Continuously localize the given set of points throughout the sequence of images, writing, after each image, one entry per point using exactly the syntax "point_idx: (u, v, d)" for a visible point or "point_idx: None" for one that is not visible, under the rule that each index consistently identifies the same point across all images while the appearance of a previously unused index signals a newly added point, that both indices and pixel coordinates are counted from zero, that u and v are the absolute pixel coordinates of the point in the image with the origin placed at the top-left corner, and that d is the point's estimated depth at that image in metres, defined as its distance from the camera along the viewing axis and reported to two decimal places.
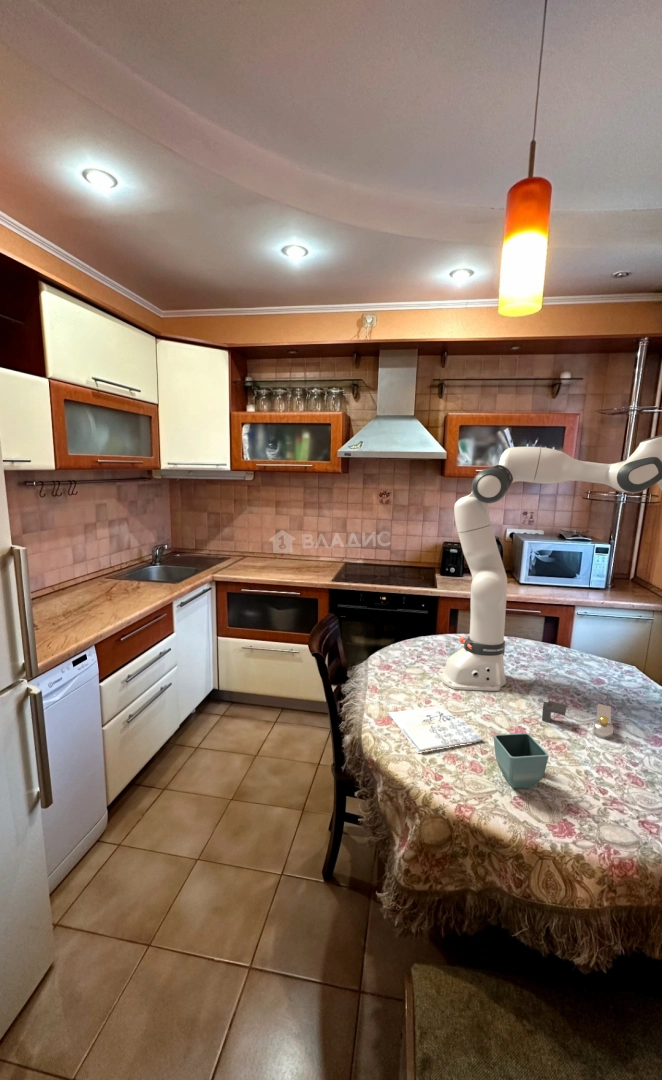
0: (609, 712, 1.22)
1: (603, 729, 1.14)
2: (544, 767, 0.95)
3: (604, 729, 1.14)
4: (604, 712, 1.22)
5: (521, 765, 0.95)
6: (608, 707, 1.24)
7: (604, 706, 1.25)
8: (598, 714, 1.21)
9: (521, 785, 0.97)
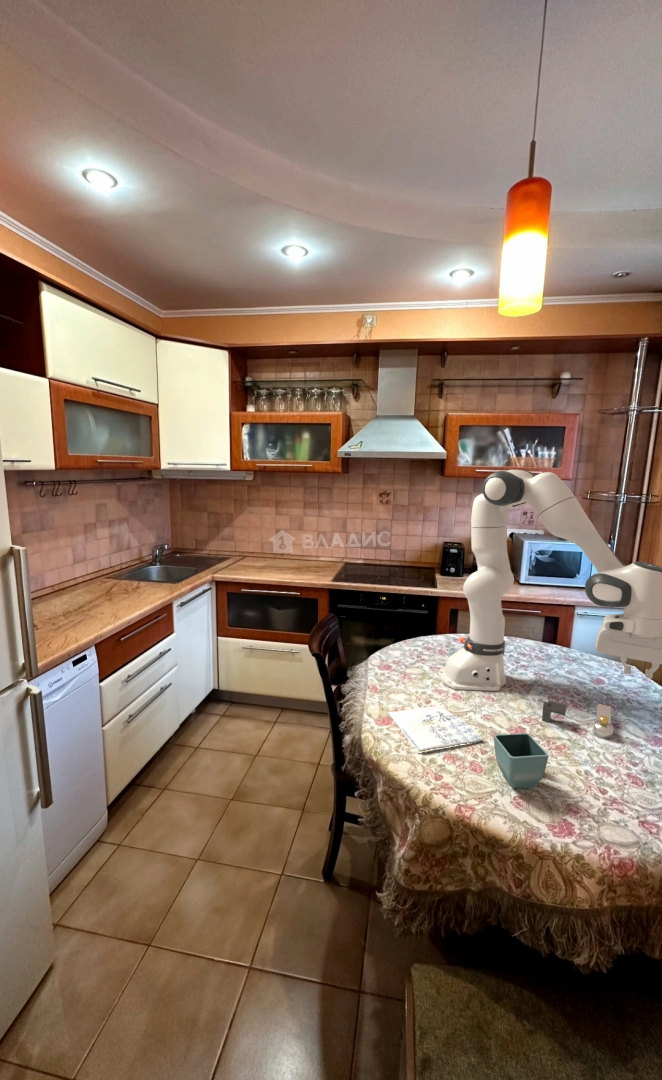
0: (609, 712, 1.22)
1: (603, 729, 1.14)
2: (544, 767, 0.95)
3: (604, 729, 1.14)
4: (604, 712, 1.22)
5: (521, 765, 0.95)
6: (608, 707, 1.24)
7: (604, 706, 1.25)
8: (598, 714, 1.21)
9: (521, 785, 0.97)
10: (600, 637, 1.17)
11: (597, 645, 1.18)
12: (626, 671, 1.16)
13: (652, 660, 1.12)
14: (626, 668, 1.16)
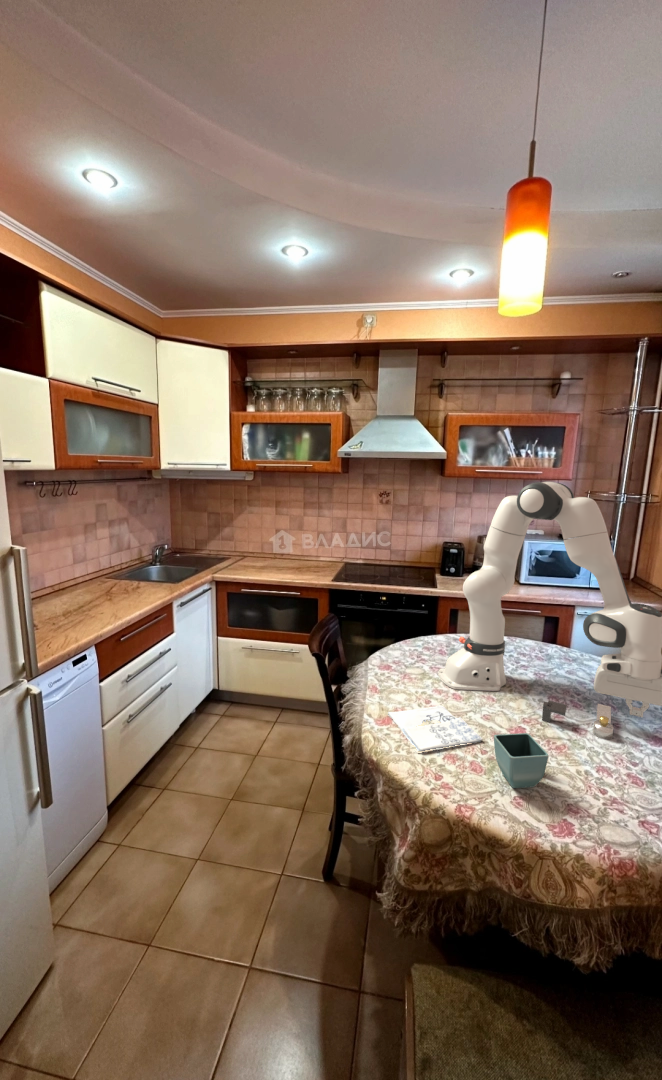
0: (609, 712, 1.22)
1: (603, 729, 1.14)
2: (544, 767, 0.95)
3: (604, 729, 1.14)
4: (604, 712, 1.22)
5: (521, 765, 0.95)
6: (608, 707, 1.24)
7: (604, 706, 1.25)
8: (598, 714, 1.21)
9: (521, 785, 0.97)
10: (598, 677, 1.18)
11: (595, 685, 1.19)
12: (632, 713, 1.16)
13: (650, 701, 1.13)
14: (632, 710, 1.16)
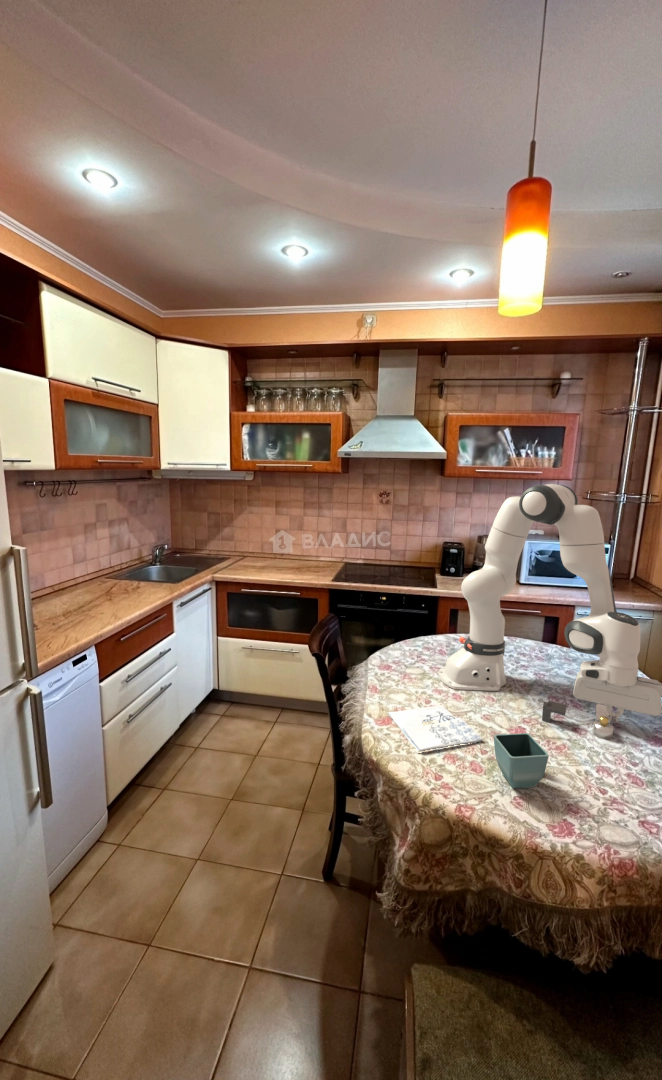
0: None
1: (603, 730, 1.14)
2: (544, 767, 0.95)
3: (604, 729, 1.14)
4: (604, 712, 1.22)
5: (521, 765, 0.95)
6: None
7: (603, 706, 1.25)
8: (598, 714, 1.21)
9: (521, 785, 0.97)
10: (577, 683, 1.22)
11: (574, 691, 1.23)
12: (612, 719, 1.19)
13: (626, 707, 1.17)
14: (611, 716, 1.19)
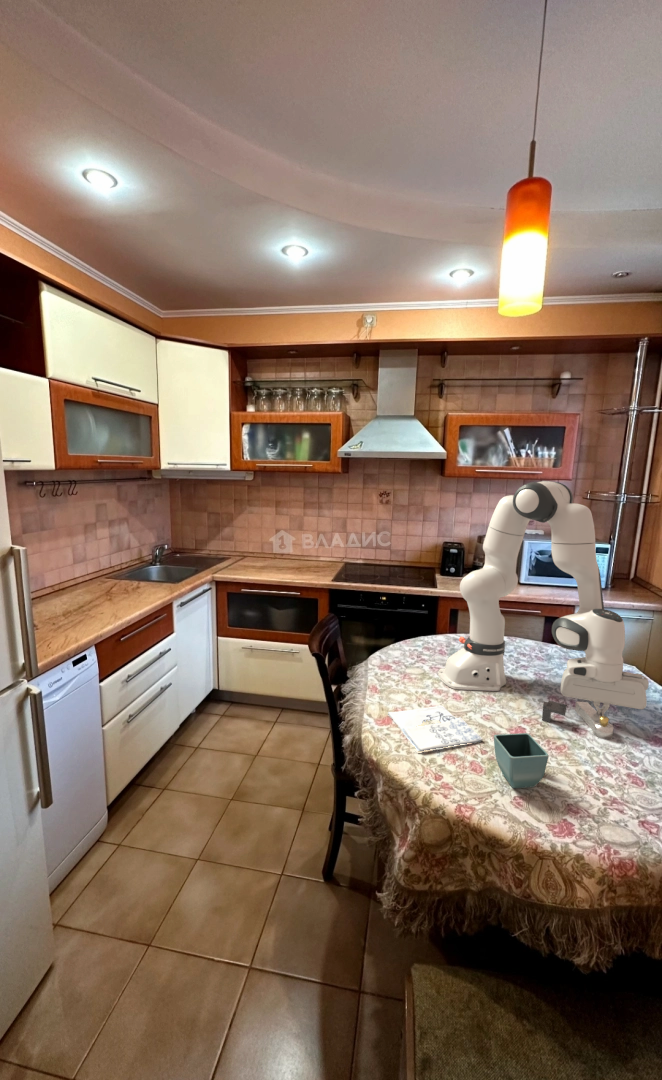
0: (593, 709, 1.23)
1: (607, 730, 1.13)
2: (544, 767, 0.95)
3: (608, 729, 1.13)
4: (590, 710, 1.23)
5: (521, 765, 0.95)
6: (586, 703, 1.27)
7: (583, 703, 1.26)
8: (588, 713, 1.21)
9: (521, 785, 0.97)
10: (565, 681, 1.22)
11: (563, 689, 1.23)
12: None
13: (613, 702, 1.18)
14: (599, 712, 1.21)
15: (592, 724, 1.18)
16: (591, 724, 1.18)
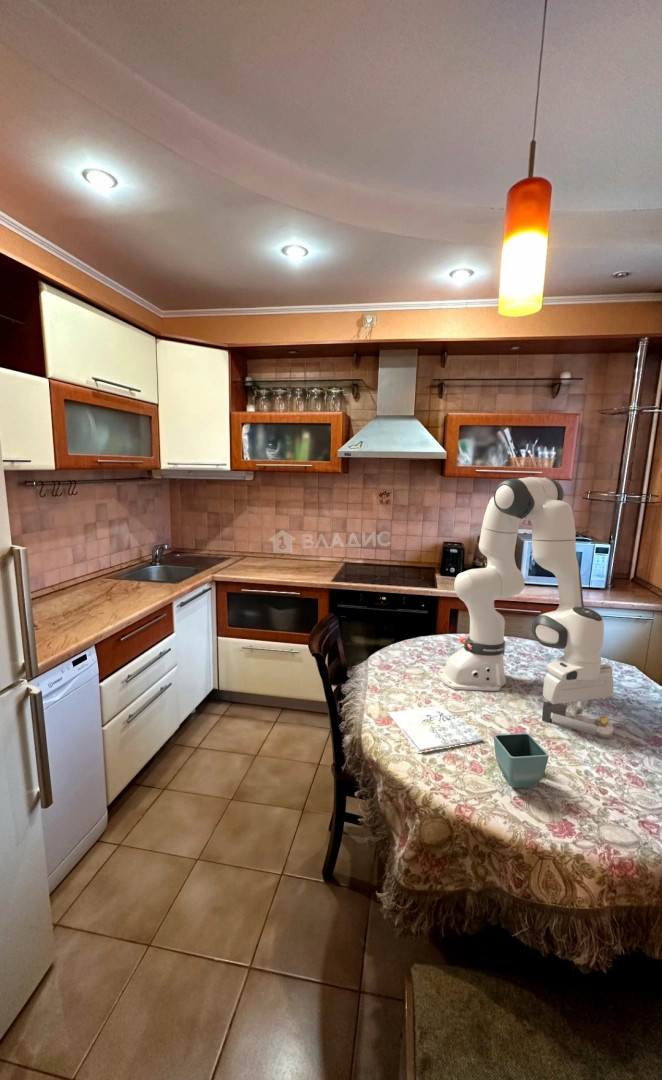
0: (569, 712, 1.21)
1: None
2: (544, 767, 0.95)
3: None
4: (571, 715, 1.20)
5: (521, 765, 0.95)
6: None
7: None
8: (579, 720, 1.18)
9: (521, 785, 0.97)
10: (557, 689, 1.16)
11: (553, 698, 1.17)
12: (576, 713, 1.21)
13: (591, 697, 1.20)
14: (576, 710, 1.21)
15: (592, 729, 1.16)
16: (590, 730, 1.16)
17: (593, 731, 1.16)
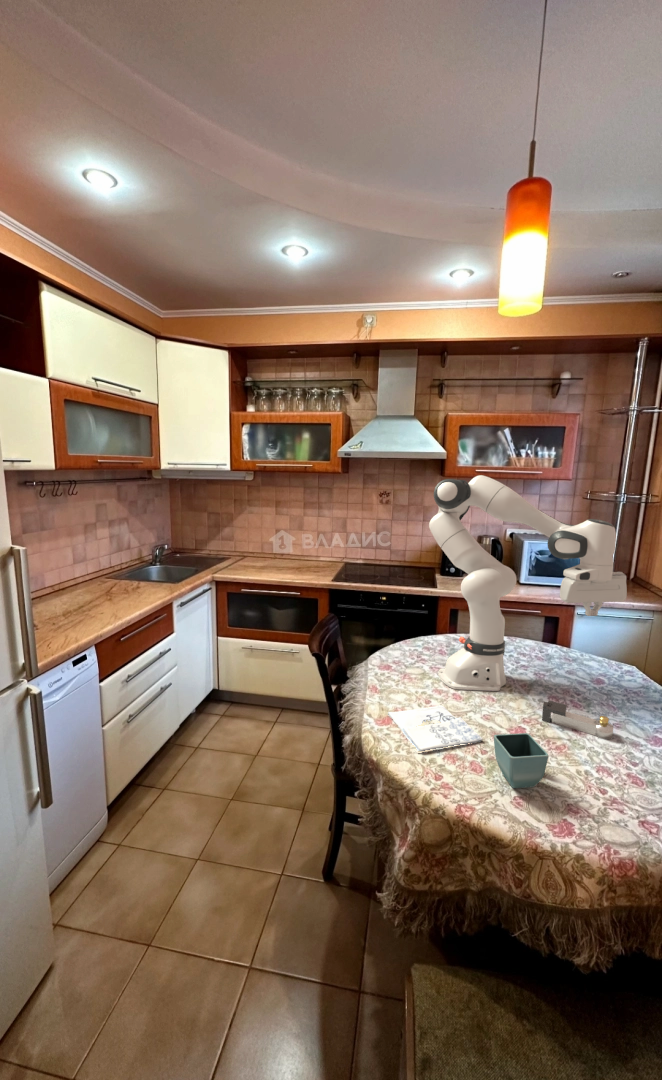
0: (569, 712, 1.21)
1: None
2: (544, 767, 0.95)
3: None
4: (572, 715, 1.20)
5: (521, 765, 0.95)
6: None
7: None
8: (579, 720, 1.18)
9: (521, 785, 0.97)
10: (571, 588, 1.32)
11: (568, 596, 1.33)
12: (590, 614, 1.36)
13: (604, 600, 1.34)
14: (590, 611, 1.35)
15: (592, 729, 1.16)
16: (590, 730, 1.16)
17: (593, 731, 1.16)
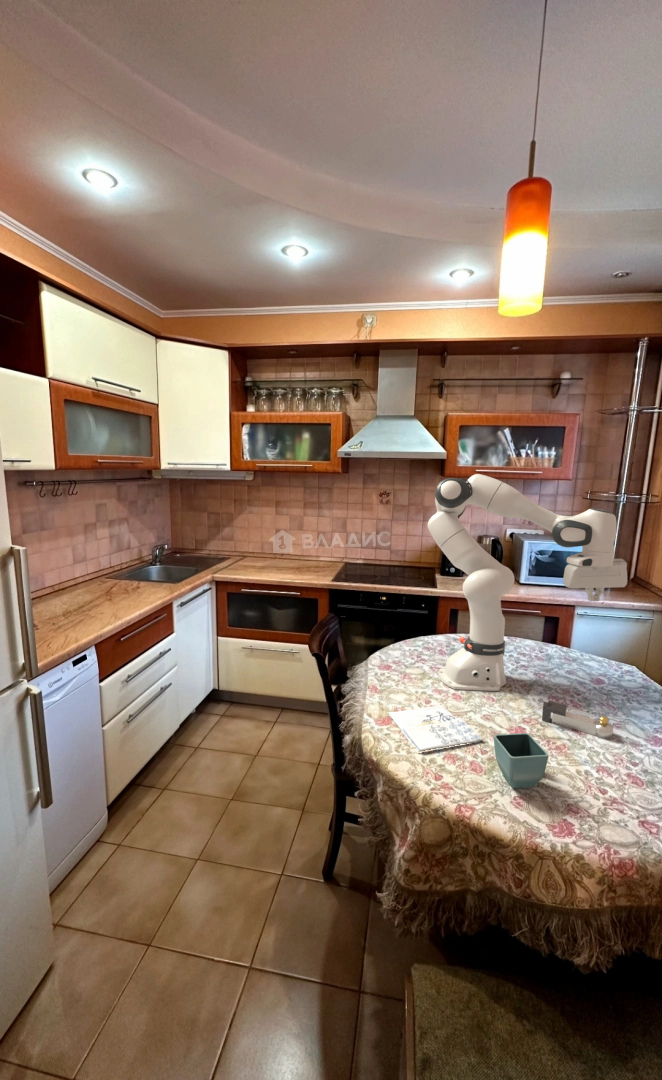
0: (569, 712, 1.21)
1: None
2: (544, 767, 0.95)
3: None
4: (572, 715, 1.20)
5: (521, 765, 0.95)
6: None
7: None
8: (579, 720, 1.18)
9: (521, 785, 0.97)
10: (574, 574, 1.38)
11: (571, 582, 1.39)
12: (592, 599, 1.41)
13: (606, 585, 1.40)
14: (593, 596, 1.41)
15: (592, 729, 1.16)
16: (590, 730, 1.16)
17: (593, 731, 1.16)
